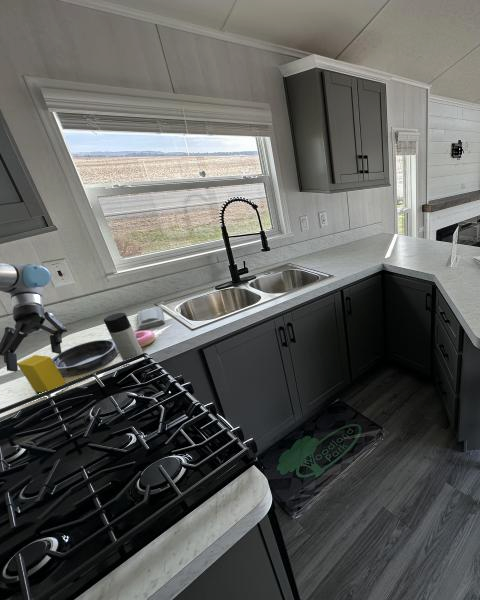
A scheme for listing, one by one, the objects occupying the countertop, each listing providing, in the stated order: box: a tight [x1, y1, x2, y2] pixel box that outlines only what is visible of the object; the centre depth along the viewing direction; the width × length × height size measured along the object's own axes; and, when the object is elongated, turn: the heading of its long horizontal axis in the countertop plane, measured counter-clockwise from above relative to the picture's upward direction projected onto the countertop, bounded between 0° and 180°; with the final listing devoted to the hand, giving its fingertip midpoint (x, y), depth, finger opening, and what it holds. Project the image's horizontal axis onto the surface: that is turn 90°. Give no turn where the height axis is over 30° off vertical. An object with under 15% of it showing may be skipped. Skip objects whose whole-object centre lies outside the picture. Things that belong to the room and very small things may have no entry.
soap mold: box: [137, 305, 166, 331], centre depth 160 cm, size 10×20×4 cm, turn 37°
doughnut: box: [134, 329, 156, 348], centre depth 139 cm, size 11×11×4 cm
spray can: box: [103, 312, 144, 362], centre depth 124 cm, size 7×7×20 cm
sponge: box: [17, 354, 67, 395], centre depth 111 cm, size 7×5×13 cm
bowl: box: [51, 339, 119, 377], centre depth 128 cm, size 19×19×4 cm
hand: (34, 361), depth 111 cm, fingers open, 13 cm apart
